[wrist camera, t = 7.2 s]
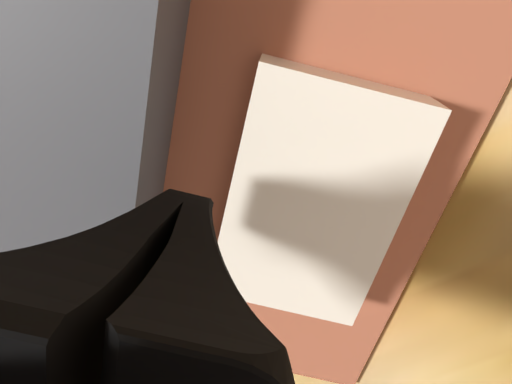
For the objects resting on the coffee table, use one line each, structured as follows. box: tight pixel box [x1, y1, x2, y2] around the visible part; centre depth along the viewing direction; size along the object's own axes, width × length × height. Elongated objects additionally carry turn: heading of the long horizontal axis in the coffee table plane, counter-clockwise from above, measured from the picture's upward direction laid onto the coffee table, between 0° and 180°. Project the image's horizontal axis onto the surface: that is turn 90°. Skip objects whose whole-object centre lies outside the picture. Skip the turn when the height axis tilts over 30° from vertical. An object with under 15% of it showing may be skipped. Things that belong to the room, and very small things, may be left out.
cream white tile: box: [218, 53, 452, 326], centre depth 15 cm, size 9×6×2 cm, turn 167°
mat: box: [163, 0, 512, 384], centre depth 16 cm, size 20×11×1 cm, turn 167°
